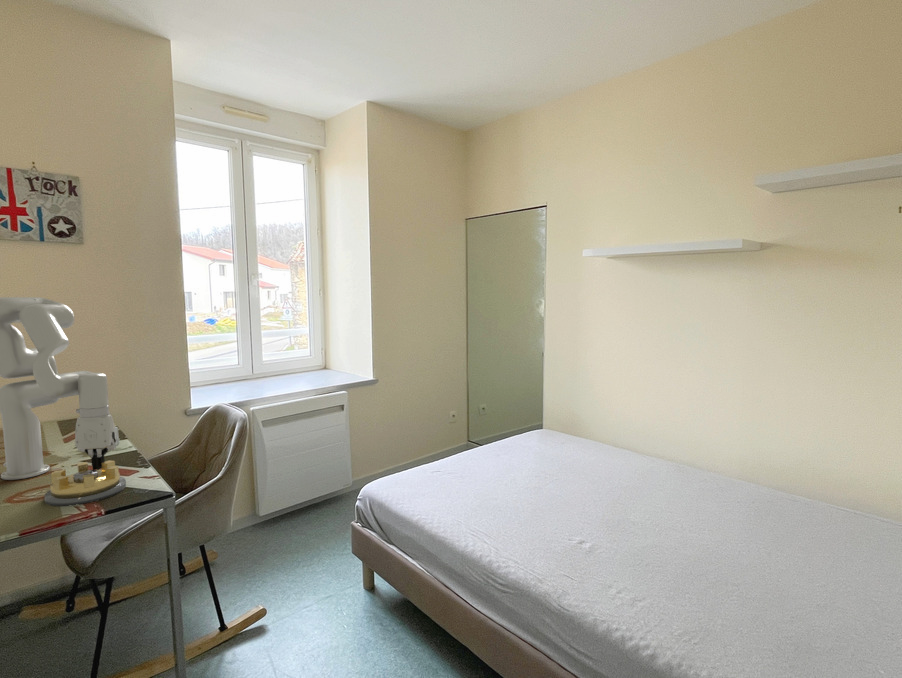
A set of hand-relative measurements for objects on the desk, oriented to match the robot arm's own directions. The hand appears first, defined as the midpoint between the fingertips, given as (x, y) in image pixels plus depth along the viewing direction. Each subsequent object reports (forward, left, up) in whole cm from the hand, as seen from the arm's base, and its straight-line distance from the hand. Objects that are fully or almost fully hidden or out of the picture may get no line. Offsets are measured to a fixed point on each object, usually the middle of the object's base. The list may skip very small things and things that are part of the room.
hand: (98, 468), depth 157 cm
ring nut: (+3, -6, -3) cm, 8 cm away
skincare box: (-38, +30, -5) cm, 48 cm away
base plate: (+3, -6, -5) cm, 9 cm away
